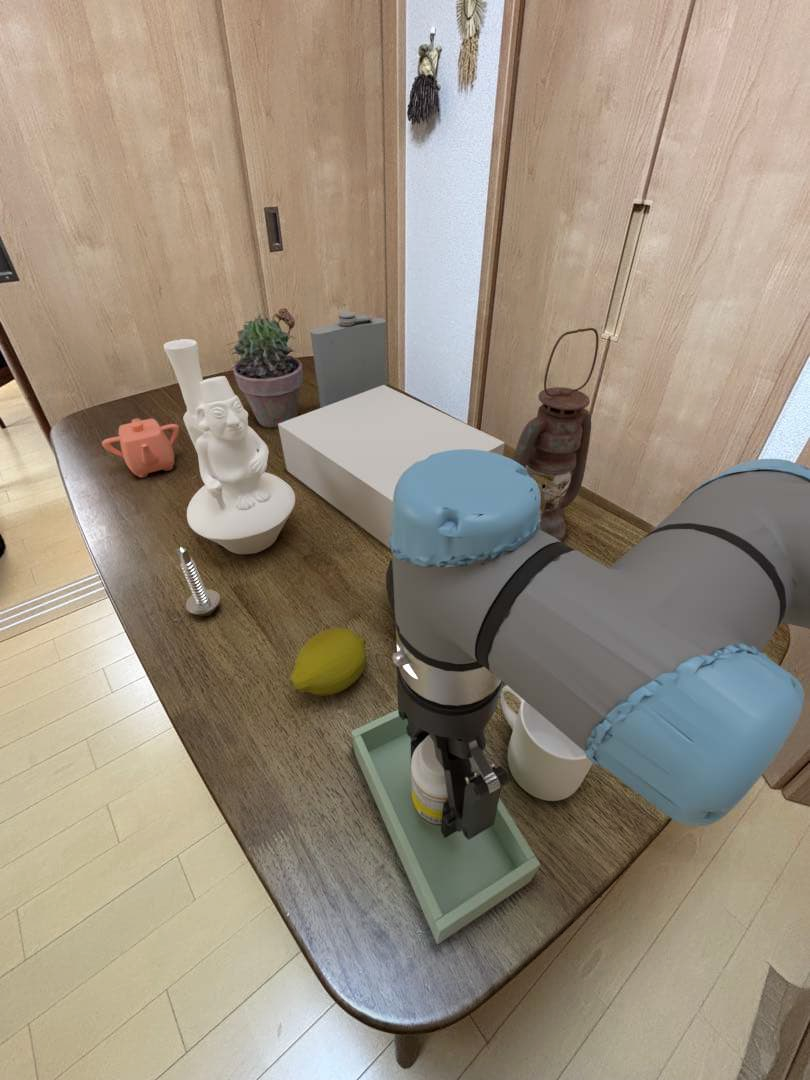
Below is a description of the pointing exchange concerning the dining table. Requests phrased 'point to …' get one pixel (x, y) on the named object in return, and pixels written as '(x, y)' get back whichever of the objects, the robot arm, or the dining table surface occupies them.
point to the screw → (197, 588)
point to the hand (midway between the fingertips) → (438, 796)
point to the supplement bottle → (428, 783)
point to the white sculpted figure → (228, 462)
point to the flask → (349, 357)
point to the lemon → (329, 662)
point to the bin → (440, 838)
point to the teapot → (144, 446)
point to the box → (371, 450)
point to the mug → (542, 754)
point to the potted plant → (268, 370)
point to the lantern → (558, 446)
